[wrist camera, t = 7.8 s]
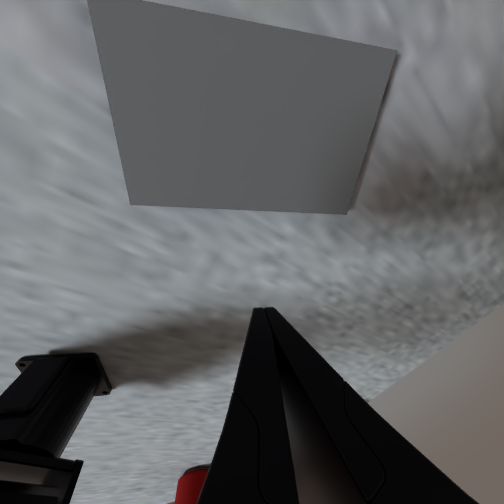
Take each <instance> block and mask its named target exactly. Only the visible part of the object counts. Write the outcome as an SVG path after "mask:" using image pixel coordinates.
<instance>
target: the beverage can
mask: <svg viewBox="0 0 504 504" xmlns="http://www.w3.org/2000/svg"><path fill="white" fill-rule="evenodd" d="M208 471H209V468H205V467H200V468H194V469H190V470H188V471H186V472H185V473H184V475H183V476H182V477H181V478H180V479H179V480H178V485H177V492H176V498H175V504H197V501H198V498H199V495H200V493H201V490H202V487H203V484H204V482H205V479H206V476H207V473H208Z"/></svg>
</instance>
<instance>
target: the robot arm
mask: <svg viewBox="0 0 504 504" xmlns="http://www.w3.org/2000/svg"><path fill="white" fill-rule="evenodd" d="M15 365H16V366H17V368H18V369H19V370H20V371H21V374H20V376H19V377H18V378H17V379H16V380H15V381H14V382H13V383H12V384H11V385H10V386H9V387H8V388H7V389H6V390H5V391H4V392H3V394H2V395H1V396H0V504H69V503H70V500H71V497H72V494H73V492H74V489H75V486H76V483H77V480H78V477H79V474H80V471H81V468H82V465H83V462H84V461H82V460H75V461H73V460H68V459H63V458H60V456H61V454H62V453H63V451H64V449H65V447H66V445H67V444H68V442H69V440H70V438H71V436H72V434H73V433H74V431H75V429H76V427H77V425H78V424H79V422H80V420H81V418H82V416H83V415H84V413H85V411H86V409H87V407H88V406H89V404H90V402H91V400H92V398H93V396H102V395H109V394H110V392H111V390H112V387H111V385H110V382H109V380H108V378H107V376H106V374H105V371H104V369H103V367H102V365H101V362H100V360H99V358H98V356H97V355H96V354H93V353H86V354H69V355H53V356H37V357H23V358H20V359H19V360H18V361H17V362H16V363H15ZM197 504H479V503H478V502H476V501H475V500H474V499H473V498H472V497H470V496H469V495H468V494H467V493H466V492H464V491H463V490H462V489H461V488H460V487H459V486H457V485H456V484H455V483H454V482H453V481H452V480H451V479H449V477H447V476H446V475H445V474H444V473H443V472H442V471H441V470H440V469H439V468H437V467H436V466H435V465H434V464H433V463H432V462H431V461H430V460H429V459H427V458H426V457H425V456H424V455H423V454H422V453H421V452H420V451H419V450H417V449H416V448H415V447H414V446H413V445H412V444H411V443H409V441H407V440H406V439H405V438H404V437H403V436H402V435H401V434H400V433H399V432H397V431H396V430H395V429H394V428H393V427H392V426H391V425H390V424H389V423H388V422H387V421H386V420H384V419H383V418H382V417H381V416H380V415H379V414H378V413H377V412H376V411H375V410H374V409H373V408H372V407H371V406H370V405H369V404H368V403H367V402H366V401H365V400H364V399H363V398H362V397H361V396H360V395H359V394H358V393H357V392H356V391H355V390H354V389H353V388H352V387H351V386H350V385H349V384H348V383H347V382H346V381H344V380H343V378H342V377H341V376H340V375H339V374H338V373H337V372H336V371H335V370H334V369H333V368H332V367H331V366H330V365H329V364H328V363H327V362H326V361H325V360H324V358H323V357H322V356H321V355H320V354H319V353H318V352H317V351H316V350H315V349H314V348H313V347H312V346H311V345H310V344H309V343H308V342H307V341H306V340H305V339H304V338H303V337H302V336H301V335H300V334H299V333H298V332H297V331H296V330H295V329H294V328H293V326H292V325H291V324H290V323H289V322H288V321H287V320H286V319H285V318H284V317H283V316H282V315H281V314H280V313H279V312H278V311H277V310H276V309H275V308H274V307H265V308H262V307H260V308H254V309H253V312H252V316H251V320H250V324H249V328H248V332H247V336H246V340H245V344H244V348H243V352H242V356H241V360H240V364H239V368H238V373H237V377H236V381H235V385H234V389H233V393H232V396H231V400H230V404H229V408H228V412H227V415H226V419H225V423H224V426H223V430H222V433H221V436H220V439H219V442H218V445H217V448H216V451H215V454H214V457H213V460H212V462H211V465H210V468H209V471H208V473H207V476H206V479H205V482H204V484H203V487H202V490H201V493H200V495H199V498H198V501H197Z"/></svg>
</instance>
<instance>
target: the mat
mask: <svg viewBox="0 0 504 504" xmlns="http://www.w3.org/2000/svg"><path fill="white" fill-rule="evenodd" d="M87 2H88V7H89V11H90V16H91V21H92V26H93V30H94V35H95V40H96V45H97V49H98V54H99V59H100V63H101V68H102V73H103V78H104V82H105V87H106V92H107V97H108V101H109V106H110V111H111V116H112V120H113V125H114V130H115V134H116V139H117V144H118V149H119V153H120V158H121V163H122V168H123V172H124V177H125V182H126V187H127V191H128V196H129V201H130V205H146V206H168V207H190V208H212V209H234V210H256V211H278V212H300V213H322V214H344V215H347V212H348V209H349V206H350V202H351V199H352V196H353V193H354V189H355V186H356V183H357V180H358V176H359V173H360V170H361V167H362V163H363V160H364V157H365V154H366V150H367V147H368V144H369V140H370V137H371V134H372V131H373V127H374V124H375V121H376V118H377V114H378V111H379V108H380V105H381V101H382V98H383V95H384V92H385V88H386V85H387V82H388V79H389V75H390V72H391V69H392V66H393V62H394V59H395V56H396V53H397V50H392V49H387V48H382V47H377V46H372V45H367V44H362V43H357V42H351V41H346V40H341V39H336V38H331V37H326V36H321V35H316V34H311V33H306V32H301V31H295V30H290V29H285V28H280V27H275V26H270V25H265V24H260V23H255V22H250V21H245V20H239V19H234V18H229V17H224V16H219V15H214V14H209V13H204V12H199V11H194V10H188V9H183V8H178V7H173V6H168V5H163V4H158V3H153V2H148V1H143V0H87Z"/></svg>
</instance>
